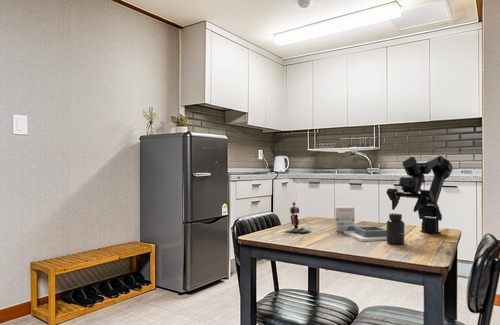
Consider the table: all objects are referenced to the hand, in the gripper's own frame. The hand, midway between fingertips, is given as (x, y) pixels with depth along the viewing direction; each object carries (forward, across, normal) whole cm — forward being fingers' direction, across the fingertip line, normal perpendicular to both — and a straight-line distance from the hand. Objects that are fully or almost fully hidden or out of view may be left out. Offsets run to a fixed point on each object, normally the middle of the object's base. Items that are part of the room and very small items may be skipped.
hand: (403, 210), depth 149 cm
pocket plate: (+10, -14, +8) cm, 19 cm away
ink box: (+8, -30, +11) cm, 33 cm away
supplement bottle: (+14, 0, +4) cm, 15 cm away
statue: (+21, -44, -2) cm, 49 cm away
